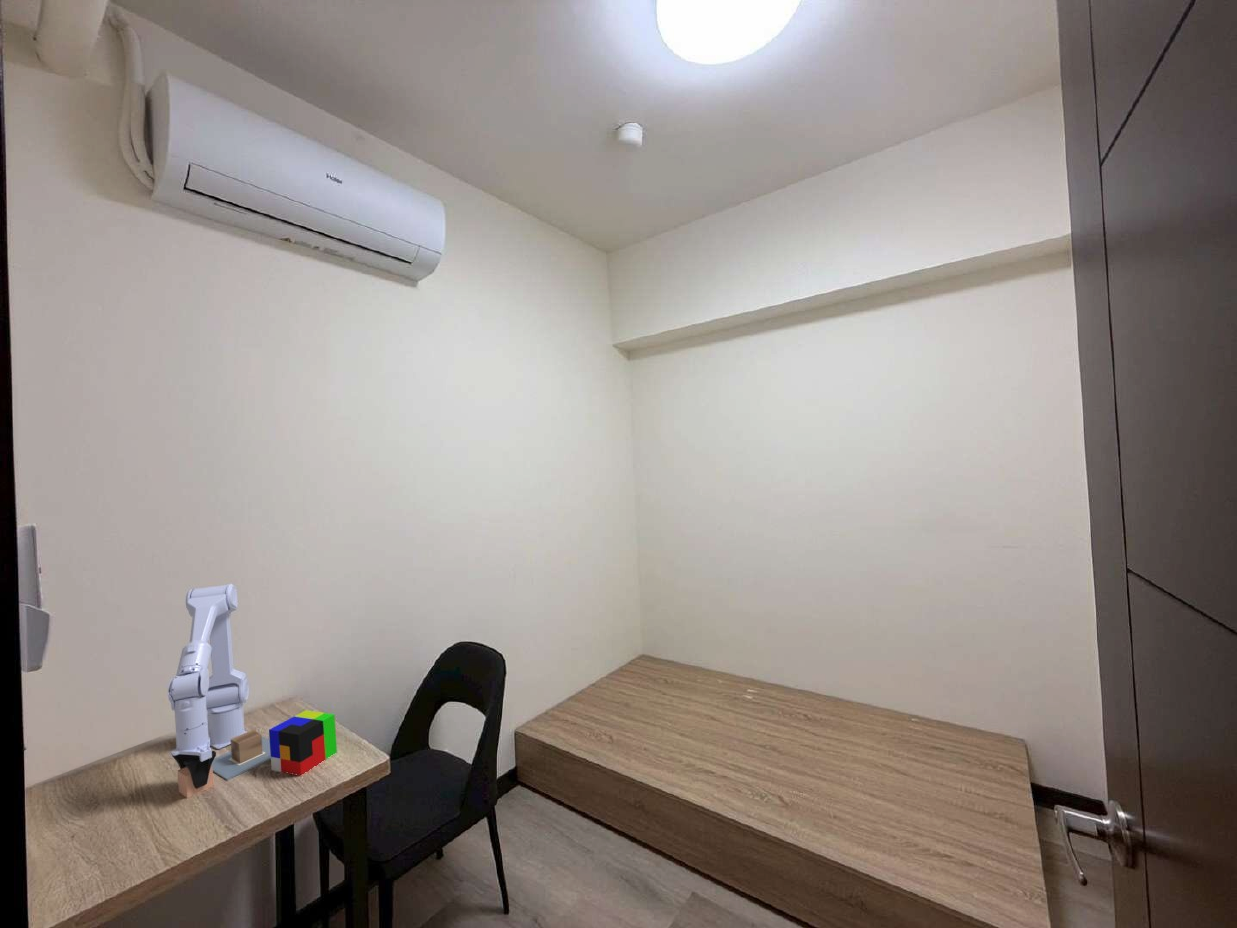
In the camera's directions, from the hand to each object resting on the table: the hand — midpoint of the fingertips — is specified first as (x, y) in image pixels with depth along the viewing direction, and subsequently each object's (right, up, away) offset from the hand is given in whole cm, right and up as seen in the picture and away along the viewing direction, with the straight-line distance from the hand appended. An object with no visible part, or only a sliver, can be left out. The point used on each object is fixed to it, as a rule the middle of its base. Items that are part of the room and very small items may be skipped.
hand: (196, 782), depth 121 cm
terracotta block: (0, -1, 0) cm, 1 cm away
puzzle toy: (+20, 0, +9) cm, 22 cm away
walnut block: (+3, -1, +12) cm, 13 cm away
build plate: (+3, -1, +12) cm, 13 cm away
